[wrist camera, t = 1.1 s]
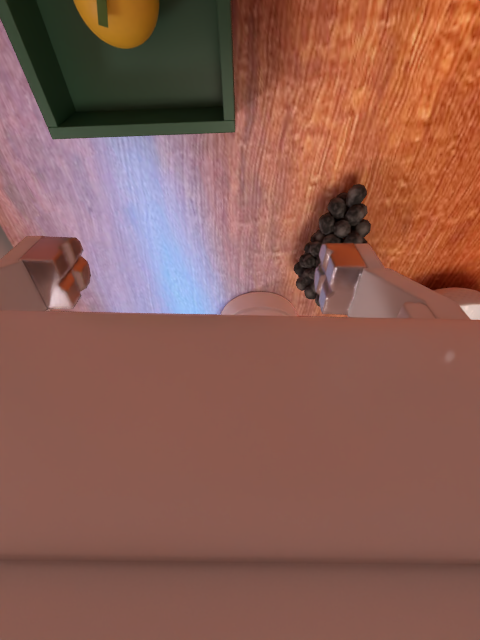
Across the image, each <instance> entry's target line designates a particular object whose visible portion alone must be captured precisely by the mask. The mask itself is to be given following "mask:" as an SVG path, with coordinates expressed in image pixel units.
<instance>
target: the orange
mask: <svg viewBox="0 0 480 640" xmlns="http://www.w3.org/2000/svg"><path fill="white" fill-rule="evenodd" d="M73 1H74V3H75V5H76V8H77V10H78V12H79V14H80V16H81V17H82V19H83V20H84V22H85V23H86V25H87V26H88V27H89V28H90V30H91V31H92V32H93V33H94V34H95V35H96V36H97V37H99V38H100V39H101V40H103V41H104V42H106V43H108V44H109V45H111V46H114V47H117V48H122V49H129V48H134V47H138V46H139V45H141V44H143V43H144V42H145V41H146V40H147V39H148V38H149V37H150V35H151V34H152V32H153V30H154V28H155V26H156V23H157V19H158V14H159V0H73Z"/></svg>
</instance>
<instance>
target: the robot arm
mask: <svg viewBox="0 0 480 640" xmlns="http://www.w3.org/2000/svg"><path fill="white" fill-rule="evenodd" d="M82 252H83V248H82V246H81V243H80V241H79V240H78V239H77V238H72V237H48V236H46V237H45V236H26V237H25V238H24V239H23V240H22V241H21V242H20V243H18V244H17V245H16V246H15V247H14V248H13V249H12V250H10V251H9V252H8V253H7V254H6V255H5V256H4V257H3V258H1V259H0V640H480V320H471V319H470V318H469V317H468V316H467V314H466V313H465V312H464V311H463V310H462V308H461V307H460V306H459V305H458V303H457V302H455V301H453V300H451V299H449V298H447V297H445V296H443V295H441V294H439V293H437V292H435V291H433V290H431V289H429V288H427V287H425V286H423V285H421V284H419V283H417V282H415V281H413V280H411V279H409V278H407V277H405V276H403V275H401V274H399V273H398V272H396V271H394V270H392V269H388V268H384V266H383V264H382V263H381V261H380V260H379V258H378V257H377V255H376V254H375V252H374V251H373V249H372V247H371V246H370V245H369V244H367V243H365V244H354V243H325V244H322V246H321V248H320V252H319V258H320V261H321V263H320V264H319V265H318V266H317V267H316V271H315V277H314V286H315V291H316V293H317V294H318V295H320V297H319V304H320V308H321V311H322V314H344V315H347V316H348V317H315V316H264V315H214V314H164V313H115V312H65V311H46V310H47V309H65V308H74V307H75V305H76V304H77V302H78V300H79V299H80V297H81V294H80V291H82V290H84V289H85V288H87V286H88V284H89V283H90V276H91V274H90V268H89V265H88V262H87V261H86V260H85V259H84V258H83V257H82V256H81V254H82Z"/></svg>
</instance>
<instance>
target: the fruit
mask: <svg viewBox="0 0 480 640" xmlns="http://www.w3.org/2000/svg"><path fill="white" fill-rule="evenodd" d="M366 195H367V191H366V188H365V187H364V186H363V185H361V184H356V185H354V186H352V187H351V188H350V189H349V191H348V193H341V194H339V195H338V196H337V197H336V198H334V199H332V200H331V201H330V203H329V205H328V207H327V208H328V210H329V213H326V214H325V215H323V216H321V217H320V218H319V228H320V230H318V231H317V232H316V233H314V234H313V235H312V237H311V242H309V243H307V244H306V246H305V248H304V251H305V254H304V255H302V256H301V257H300V259H299V262H298V263H296V264H295V266H294V271H295V273H296V274H297V275H299V278H298V279H297V281H296V286H297V288H298V289H300V290H302V291H303V290H305V291H304V292H305V296H306V298H308V299H315V298H316V299H315V302H316V304H317V305H318V306H320V304H319V297H320V295H318V294H317V293H316V291H315V286H314V277H315V271H316V267H317V266H318V265H319V264H320V263H321V261H320V258H319V252H320V248H321V246H322V244H325V243H354V244H365V243H367V241H366V240H365V239H364V237H365V236H366V235H367V234H368V233H369V232H370V228H371V224H370V223H369V221H368V220H365V219H363V218H364V217H365V216H366V214H367V213H368V212H367V206H365V205H364V204H362V203H361V202H362V201H363V199H364V198H365V197H366ZM343 238H344V239H343Z"/></svg>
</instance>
